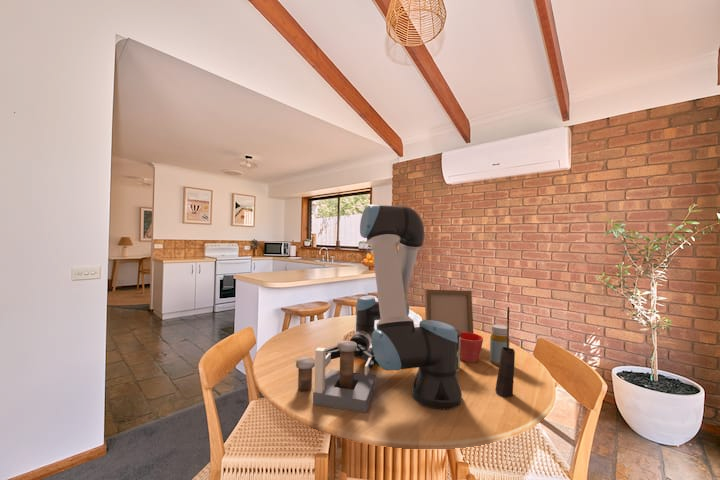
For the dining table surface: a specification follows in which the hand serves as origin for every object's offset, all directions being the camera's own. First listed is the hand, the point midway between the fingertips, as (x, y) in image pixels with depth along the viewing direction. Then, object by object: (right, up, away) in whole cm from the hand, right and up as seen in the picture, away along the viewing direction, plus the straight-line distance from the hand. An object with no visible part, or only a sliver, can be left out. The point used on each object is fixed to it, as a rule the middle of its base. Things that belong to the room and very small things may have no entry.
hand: (344, 368), depth 90 cm
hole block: (+1, -10, +3) cm, 10 cm away
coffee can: (+39, -11, +26) cm, 48 cm away
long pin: (0, -10, +3) cm, 10 cm away
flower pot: (+50, -11, +34) cm, 62 cm away
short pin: (-13, -9, +6) cm, 17 cm away
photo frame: (+48, -11, +57) cm, 76 cm away
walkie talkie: (+52, -11, +5) cm, 53 cm away
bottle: (+62, -11, +30) cm, 70 cm away
